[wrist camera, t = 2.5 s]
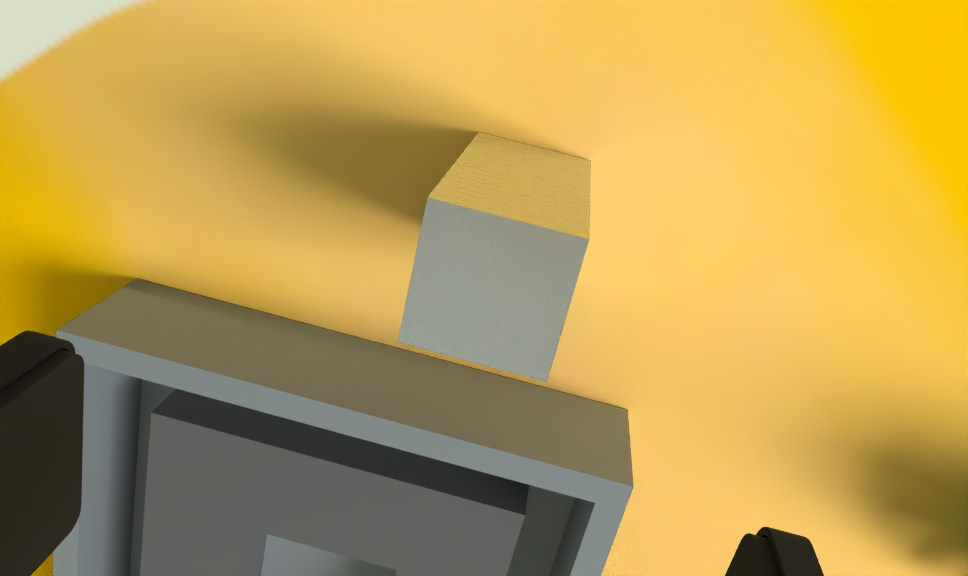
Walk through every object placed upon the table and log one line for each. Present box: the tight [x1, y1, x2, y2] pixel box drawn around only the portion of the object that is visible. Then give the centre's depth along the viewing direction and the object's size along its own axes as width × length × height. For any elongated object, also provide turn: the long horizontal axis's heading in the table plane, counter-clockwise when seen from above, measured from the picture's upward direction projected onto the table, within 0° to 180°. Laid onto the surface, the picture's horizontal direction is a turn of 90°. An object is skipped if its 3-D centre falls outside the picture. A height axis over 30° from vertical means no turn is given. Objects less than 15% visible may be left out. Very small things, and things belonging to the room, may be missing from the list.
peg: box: [398, 132, 591, 382], centre depth 24 cm, size 4×4×9 cm
